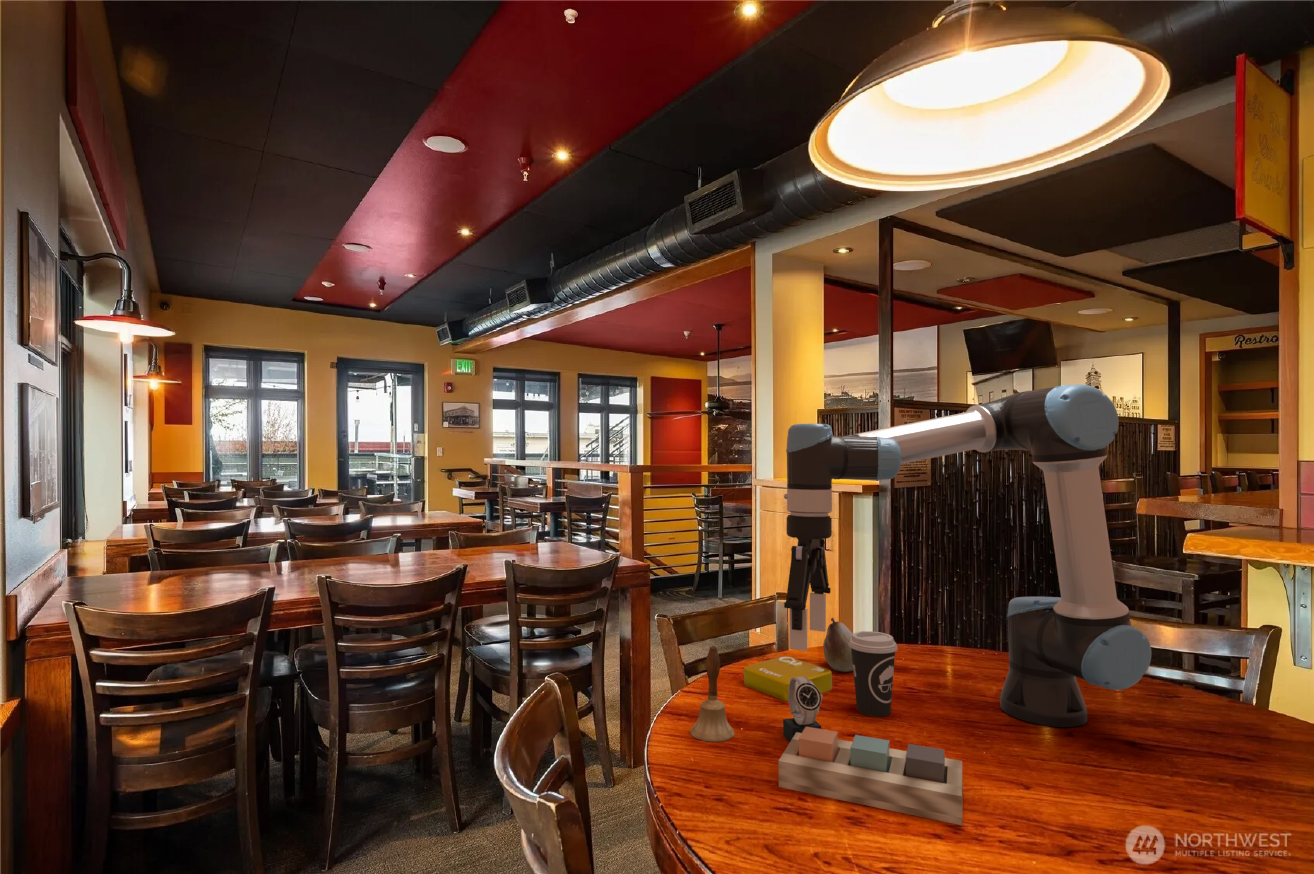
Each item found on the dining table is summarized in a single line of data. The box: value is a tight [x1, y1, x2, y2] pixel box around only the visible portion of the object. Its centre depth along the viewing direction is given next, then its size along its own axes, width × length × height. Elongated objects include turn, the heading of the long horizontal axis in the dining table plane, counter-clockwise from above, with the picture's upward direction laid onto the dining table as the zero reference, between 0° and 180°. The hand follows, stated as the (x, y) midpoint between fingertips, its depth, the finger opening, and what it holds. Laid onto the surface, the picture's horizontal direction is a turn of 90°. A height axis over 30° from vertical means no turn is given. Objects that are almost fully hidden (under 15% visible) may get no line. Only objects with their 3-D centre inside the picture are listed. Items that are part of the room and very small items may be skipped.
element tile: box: [743, 655, 833, 703], centre depth 150 cm, size 15×15×5 cm
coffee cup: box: [848, 630, 899, 718], centre depth 135 cm, size 10×10×15 cm
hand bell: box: [689, 645, 735, 743], centre depth 124 cm, size 8×8×16 cm
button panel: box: [778, 732, 964, 826], centre depth 104 cm, size 26×12×4 cm, turn 65°
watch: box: [782, 677, 824, 744], centre depth 121 cm, size 6×8×11 cm
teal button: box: [850, 734, 891, 773], centre depth 104 cm, size 5×5×4 cm
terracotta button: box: [799, 727, 839, 763], centre depth 107 cm, size 5×5×4 cm
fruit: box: [822, 617, 854, 673], centre depth 162 cm, size 10×9×12 cm
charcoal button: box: [906, 743, 946, 783], centre depth 100 cm, size 5×5×4 cm
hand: (808, 639), depth 113 cm, fingers open, 13 cm apart
